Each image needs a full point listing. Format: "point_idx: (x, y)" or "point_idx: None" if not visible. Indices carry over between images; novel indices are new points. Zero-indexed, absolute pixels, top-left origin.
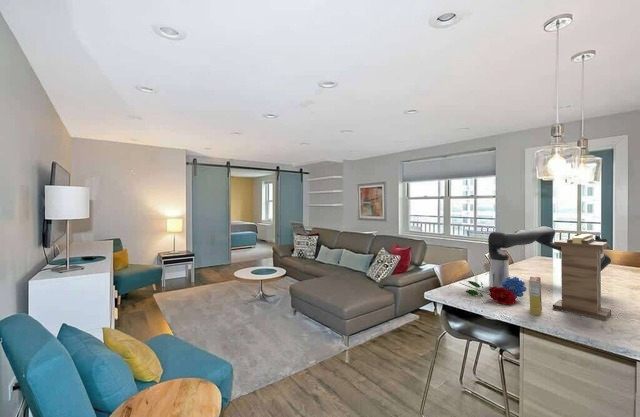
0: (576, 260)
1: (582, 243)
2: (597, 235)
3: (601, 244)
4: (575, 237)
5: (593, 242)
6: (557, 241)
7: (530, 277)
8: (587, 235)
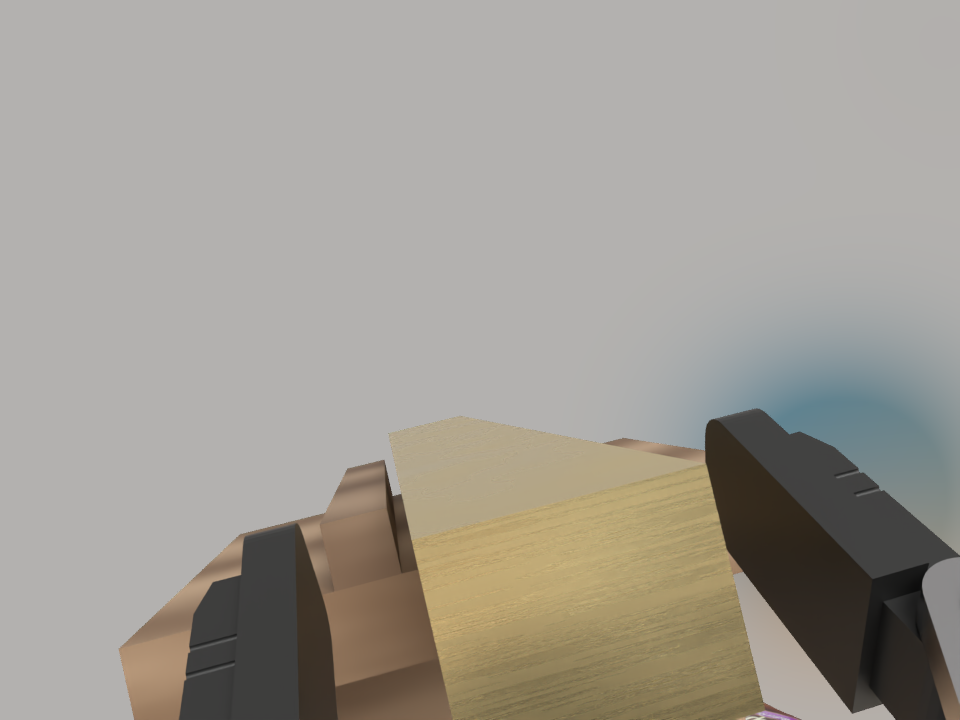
0: None
1: (399, 497)
2: (246, 553)
3: (241, 543)
4: (442, 421)
5: (323, 552)
6: (623, 444)
7: (784, 713)
8: (418, 458)
